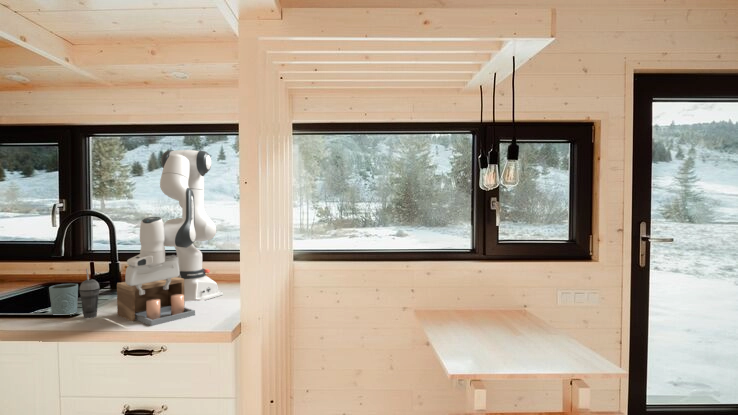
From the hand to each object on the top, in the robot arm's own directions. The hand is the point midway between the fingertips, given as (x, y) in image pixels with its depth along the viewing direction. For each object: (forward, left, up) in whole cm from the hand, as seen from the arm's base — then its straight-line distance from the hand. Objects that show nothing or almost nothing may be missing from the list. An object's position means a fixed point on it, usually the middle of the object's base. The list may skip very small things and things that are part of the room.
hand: (154, 292), depth 171 cm
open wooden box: (-4, -11, -12) cm, 17 cm away
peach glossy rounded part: (-9, 0, -11) cm, 15 cm away
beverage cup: (+14, -26, -12) cm, 32 cm away
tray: (-4, -1, -12) cm, 13 cm away
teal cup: (+19, -39, -12) cm, 45 cm away
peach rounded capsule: (+1, +1, -11) cm, 11 cm away
